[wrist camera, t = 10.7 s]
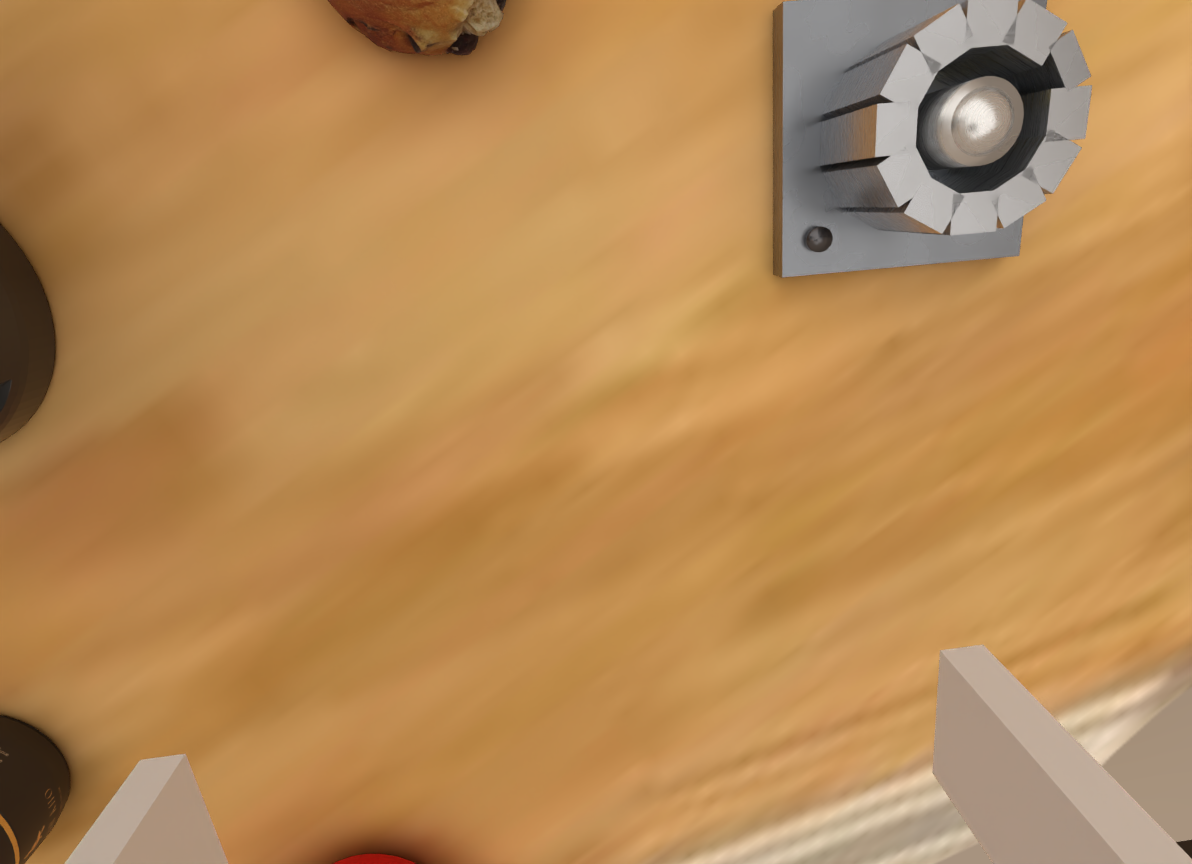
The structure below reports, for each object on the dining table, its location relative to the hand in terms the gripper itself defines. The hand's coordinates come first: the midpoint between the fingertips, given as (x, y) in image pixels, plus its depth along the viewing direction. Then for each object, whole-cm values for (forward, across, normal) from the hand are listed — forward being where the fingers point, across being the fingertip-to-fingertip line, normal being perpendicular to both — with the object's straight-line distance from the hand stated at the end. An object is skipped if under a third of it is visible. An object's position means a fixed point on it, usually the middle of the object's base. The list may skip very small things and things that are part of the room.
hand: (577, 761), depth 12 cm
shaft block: (+26, +18, +10) cm, 33 cm away
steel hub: (+24, +18, +10) cm, 32 cm away
